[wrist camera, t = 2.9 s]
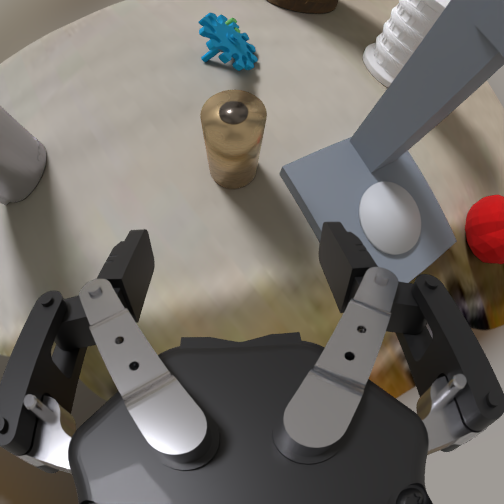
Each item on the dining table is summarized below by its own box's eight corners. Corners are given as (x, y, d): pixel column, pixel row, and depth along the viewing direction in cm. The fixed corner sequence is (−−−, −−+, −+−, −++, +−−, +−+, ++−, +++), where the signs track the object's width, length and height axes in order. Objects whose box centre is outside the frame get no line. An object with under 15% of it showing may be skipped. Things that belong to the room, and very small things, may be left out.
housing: (223, 196, 29) (218, 149, 19) (202, 159, 29) (190, 102, 19) (265, 176, 29) (279, 123, 19) (242, 140, 30) (247, 81, 20)
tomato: (447, 238, 30) (491, 224, 22) (467, 188, 32) (505, 169, 23) (480, 281, 30) (523, 277, 21) (498, 230, 31) (535, 219, 23)
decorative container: (349, 59, 33) (392, -28, 15) (381, 41, 35) (420, -27, 17) (408, 108, 33) (474, 33, 15) (431, 83, 34) (484, 22, 17)
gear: (259, 79, 30) (198, 30, 22) (224, 100, 33) (166, 59, 26) (263, 39, 33) (215, -2, 25) (234, 57, 36) (187, 21, 29)
